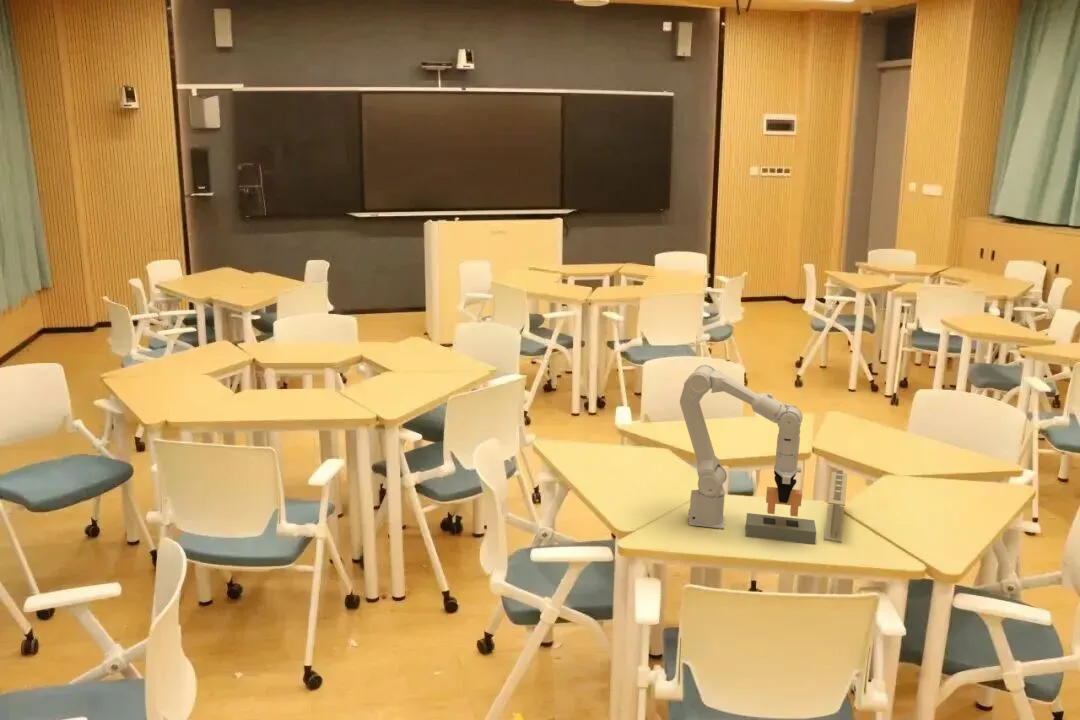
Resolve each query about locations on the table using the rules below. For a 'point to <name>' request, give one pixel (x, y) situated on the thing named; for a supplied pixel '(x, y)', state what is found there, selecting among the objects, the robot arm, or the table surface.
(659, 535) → the table surface
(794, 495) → the orange c-shaped bracket
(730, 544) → the table surface
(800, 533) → the socket rail
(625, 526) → the table surface
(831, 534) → the test tube rack
